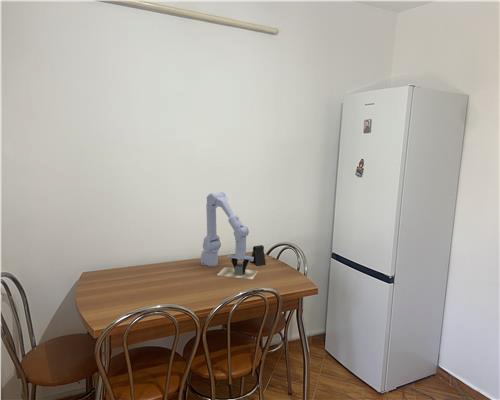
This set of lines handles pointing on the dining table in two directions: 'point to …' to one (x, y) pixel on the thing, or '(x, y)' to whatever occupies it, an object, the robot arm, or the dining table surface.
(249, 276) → the board
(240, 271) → the block
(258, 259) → the door stopper
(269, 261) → the dining table surface
